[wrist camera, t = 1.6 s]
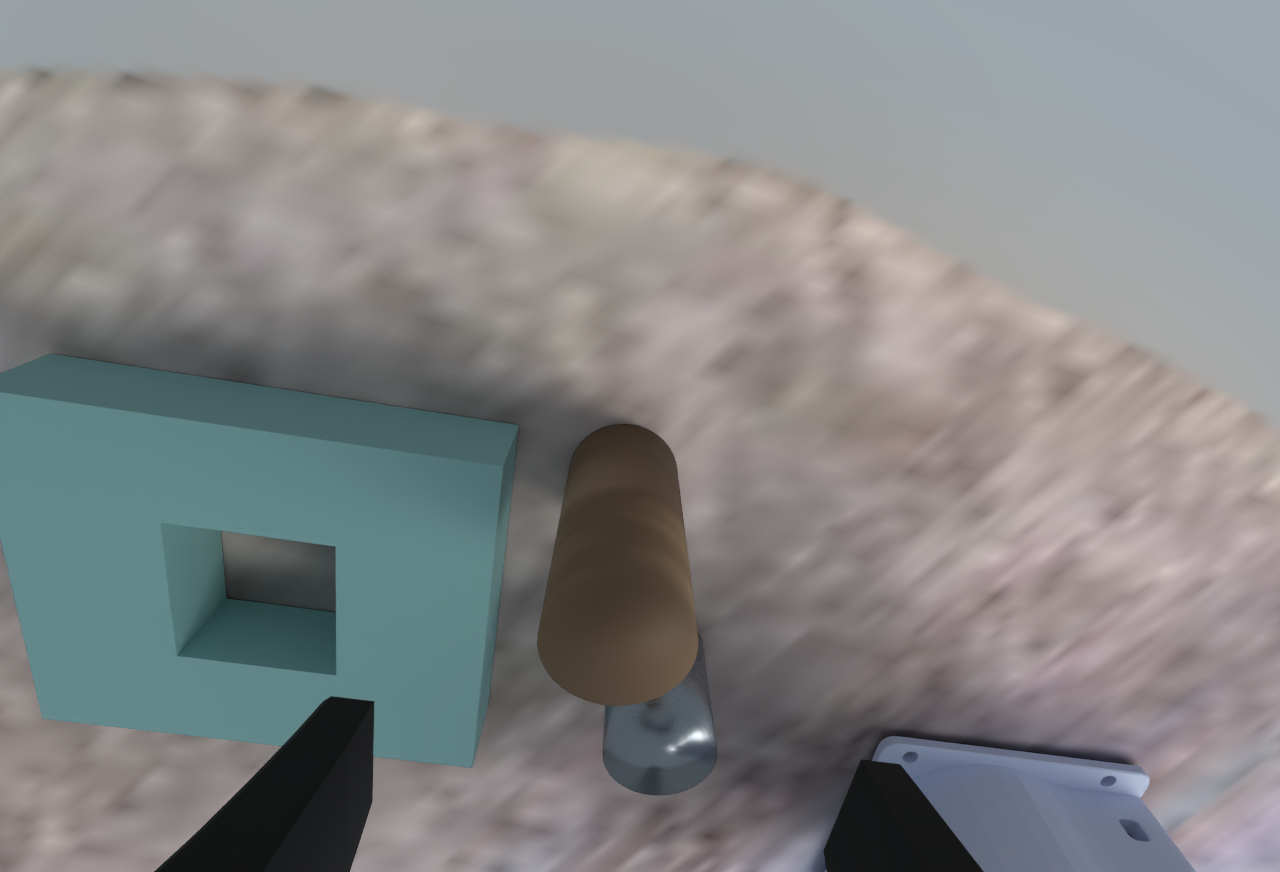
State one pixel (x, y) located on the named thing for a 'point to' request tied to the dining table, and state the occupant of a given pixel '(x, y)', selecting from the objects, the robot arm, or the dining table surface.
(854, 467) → the dining table surface
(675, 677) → the walnut dowel
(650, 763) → the metal stub
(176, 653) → the hole block
